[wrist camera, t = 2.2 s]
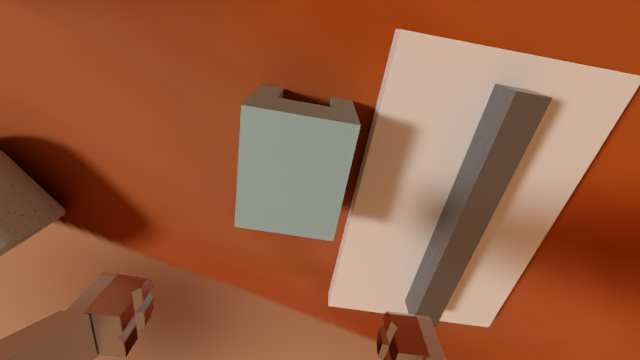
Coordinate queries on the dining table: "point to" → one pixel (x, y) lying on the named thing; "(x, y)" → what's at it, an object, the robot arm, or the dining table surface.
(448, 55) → the mounting board
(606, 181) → the dining table surface
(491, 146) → the metal rail
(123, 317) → the robot arm
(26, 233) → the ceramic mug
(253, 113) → the channel block
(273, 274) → the dining table surface
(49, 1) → the dining table surface
